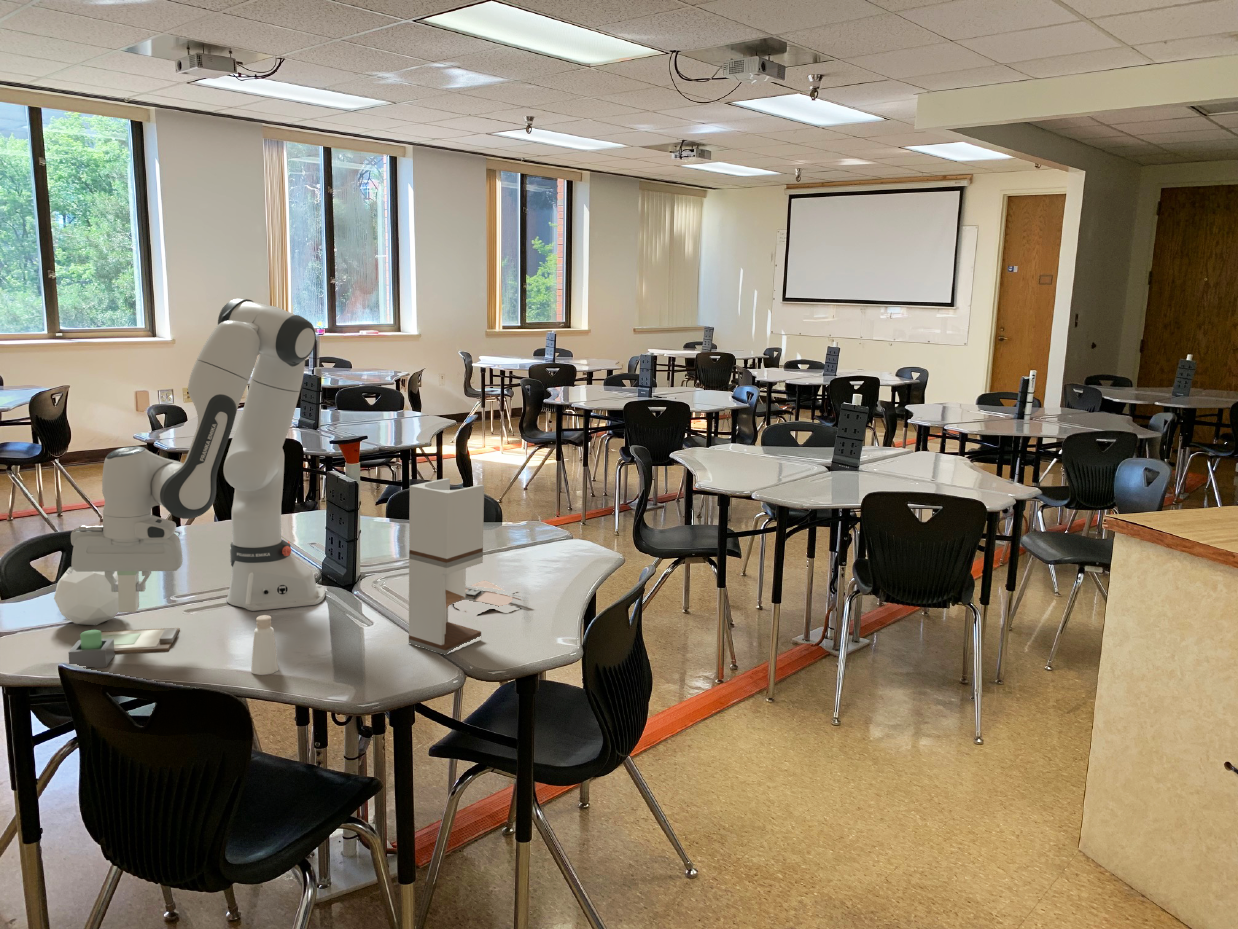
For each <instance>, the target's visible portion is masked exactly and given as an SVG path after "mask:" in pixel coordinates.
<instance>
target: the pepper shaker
mask: <svg viewBox="0 0 1238 929" xmlns="http://www.w3.org/2000/svg"><path fill="white" fill-rule="evenodd" d="M255 621H256V628H254V631H253V645H252V654H251V655H252V656H251V665H250V666H251V667H250V669H251V670H250V671H251V672H250V673H251V674H253V675H257V676H267V675H272V674H274V673H276V672H278V671H279V661H278V654H277V647H276V640H275V639H276V638H275V631H274V627H272V617H271V616H270V615H267V614H263V615H258V616H257V617H256V619H255Z"/></svg>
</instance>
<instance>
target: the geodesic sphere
mask: <svg viewBox="0 0 1238 929" xmlns="http://www.w3.org/2000/svg"><path fill="white" fill-rule="evenodd" d="M113 576H114V578H115V580H116V581H117V582H118V575H117V571H115V573H114V574H113ZM53 599H54V602H55V604H56V606H57V608H58V610H59V612H60V614H61V616H63V617H64V618H66V619H68V620H69V621H71V622H72V623H74V624H75V625H85V626H86V625H87V626H98V625H100V624H102V623H104V622H107V621H109V620H111V619H114V618H116V615H118V613H120V612H119V606H118V592H111V584H110V583H109V581H108V580H107V579H106V577H105V572H76V571H75V570H74V569H73V568H72V566H69V567H68V568H67V570H66V571H65V572H64V573H63V574H62V576H61V578H60V579H59V580H58V581H57V584H56V588H55V592H54V598H53Z"/></svg>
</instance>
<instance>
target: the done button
mask: <svg viewBox="0 0 1238 929" xmlns="http://www.w3.org/2000/svg"><path fill="white" fill-rule="evenodd" d="M79 636H80V637H79V638H80V640H81V650H85V649H101V648H102V635H101V630H100V629H91V630H85V631H81V633H80V634H79Z"/></svg>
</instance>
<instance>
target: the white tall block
mask: <svg viewBox="0 0 1238 929" xmlns="http://www.w3.org/2000/svg"><path fill="white" fill-rule="evenodd" d="M139 572H140V571H117V575H118V606H119V612H118V613H137V611H138V610H139V608H140V592H136V589H137V588H136V583H137V582H138V581H140V575H139V574H140V573H139Z"/></svg>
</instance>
